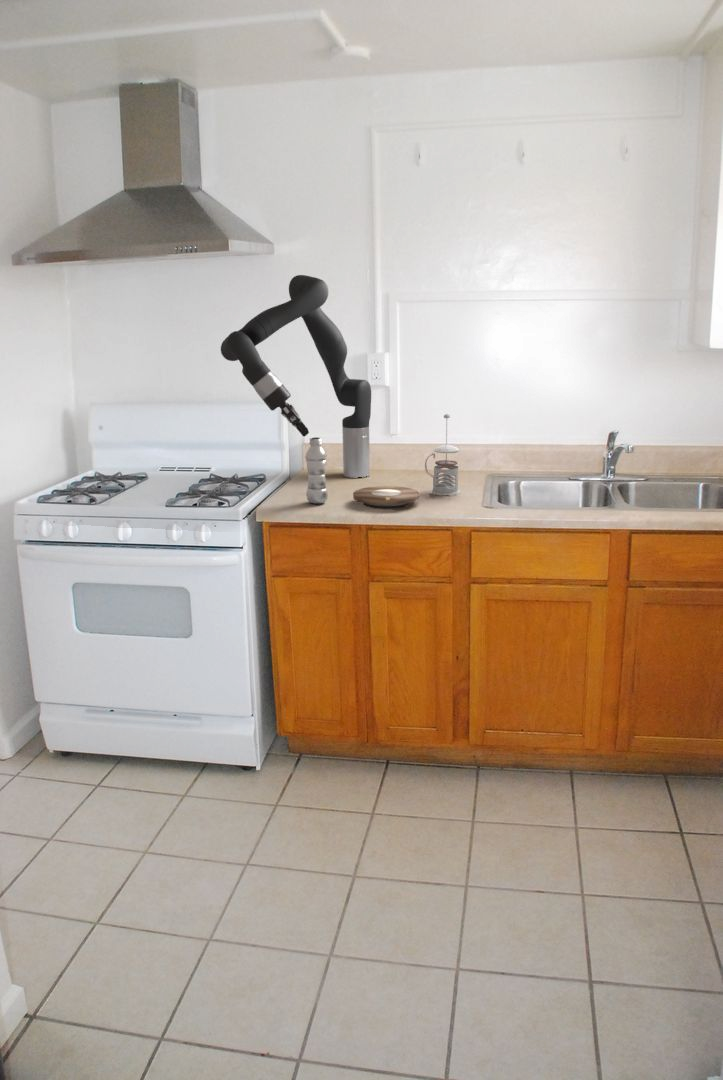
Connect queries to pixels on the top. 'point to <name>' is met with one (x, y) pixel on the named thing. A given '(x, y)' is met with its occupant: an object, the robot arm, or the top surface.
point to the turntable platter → (386, 495)
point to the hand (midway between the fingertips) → (306, 433)
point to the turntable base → (386, 506)
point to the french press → (445, 486)
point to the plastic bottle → (316, 472)
